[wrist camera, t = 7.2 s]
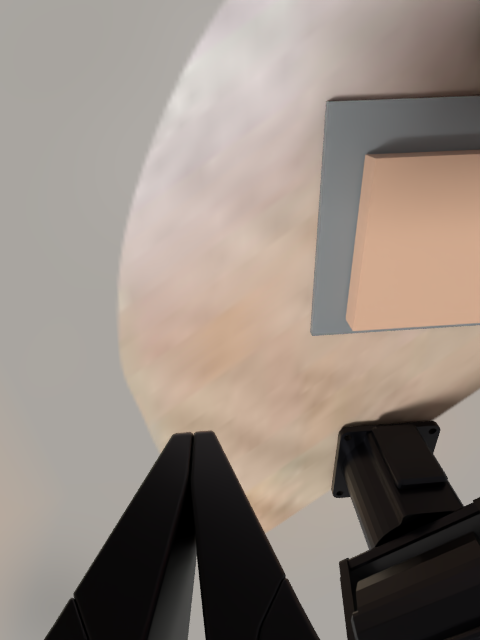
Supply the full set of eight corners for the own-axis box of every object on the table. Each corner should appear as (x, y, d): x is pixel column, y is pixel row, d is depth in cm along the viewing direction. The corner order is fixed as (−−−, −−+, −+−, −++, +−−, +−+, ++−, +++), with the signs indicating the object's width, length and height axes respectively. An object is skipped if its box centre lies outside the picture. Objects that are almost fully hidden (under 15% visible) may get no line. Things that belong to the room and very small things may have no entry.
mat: (487, 320, 22) (492, 324, 21) (310, 332, 21) (312, 335, 21) (562, 92, 16) (570, 92, 16) (326, 101, 16) (328, 101, 16)
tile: (344, 317, 21) (473, 309, 21) (352, 331, 19) (489, 322, 20) (364, 153, 17) (523, 146, 17) (375, 158, 15) (546, 150, 16)
